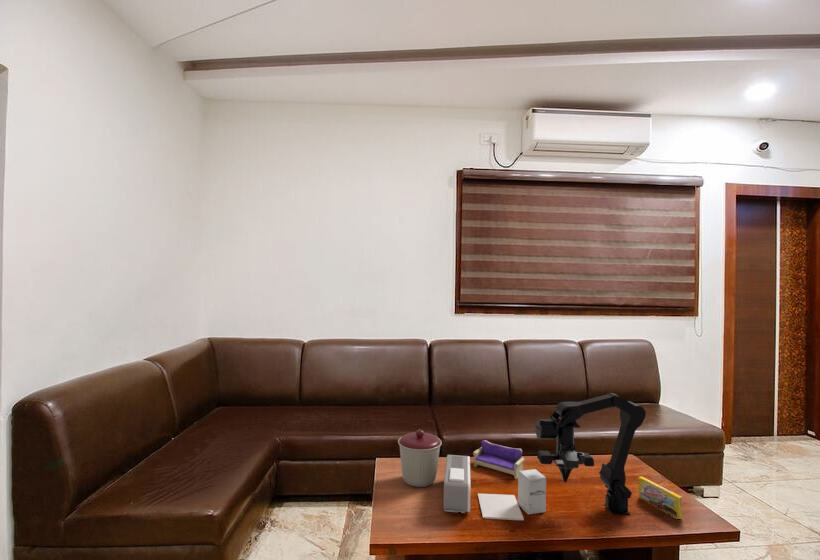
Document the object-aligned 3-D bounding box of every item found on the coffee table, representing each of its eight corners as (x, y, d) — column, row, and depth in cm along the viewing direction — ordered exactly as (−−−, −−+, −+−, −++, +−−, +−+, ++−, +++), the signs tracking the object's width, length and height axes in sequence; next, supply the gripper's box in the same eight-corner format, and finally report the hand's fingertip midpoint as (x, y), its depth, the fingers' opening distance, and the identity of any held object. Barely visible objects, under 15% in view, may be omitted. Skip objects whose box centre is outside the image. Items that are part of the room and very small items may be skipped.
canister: (439, 494, 157) (440, 439, 157) (393, 489, 159) (394, 436, 160) (442, 473, 174) (443, 424, 175) (401, 469, 177) (402, 421, 178)
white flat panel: (514, 496, 156) (514, 495, 156) (523, 520, 140) (523, 518, 140) (477, 494, 157) (477, 493, 157) (482, 518, 141) (483, 516, 141)
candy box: (637, 498, 157) (638, 476, 157) (642, 497, 158) (642, 475, 158) (678, 521, 142) (678, 497, 142) (682, 520, 142) (682, 496, 142)
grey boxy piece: (470, 518, 141) (470, 483, 141) (443, 515, 142) (443, 481, 142) (469, 481, 168) (469, 452, 168) (446, 479, 169) (447, 450, 169)
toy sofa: (472, 467, 182) (472, 444, 182) (480, 460, 189) (481, 438, 189) (517, 480, 169) (517, 456, 170) (524, 473, 176) (524, 449, 177)
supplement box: (528, 515, 143) (528, 479, 143) (517, 504, 150) (517, 470, 151) (546, 512, 145) (546, 477, 145) (534, 502, 152) (535, 468, 152)
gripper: (545, 446, 140) (544, 491, 140) (600, 448, 139) (600, 494, 139) (537, 434, 151) (536, 476, 151) (588, 436, 150) (587, 479, 150)
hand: (564, 481), depth 147 cm, fingers closed
